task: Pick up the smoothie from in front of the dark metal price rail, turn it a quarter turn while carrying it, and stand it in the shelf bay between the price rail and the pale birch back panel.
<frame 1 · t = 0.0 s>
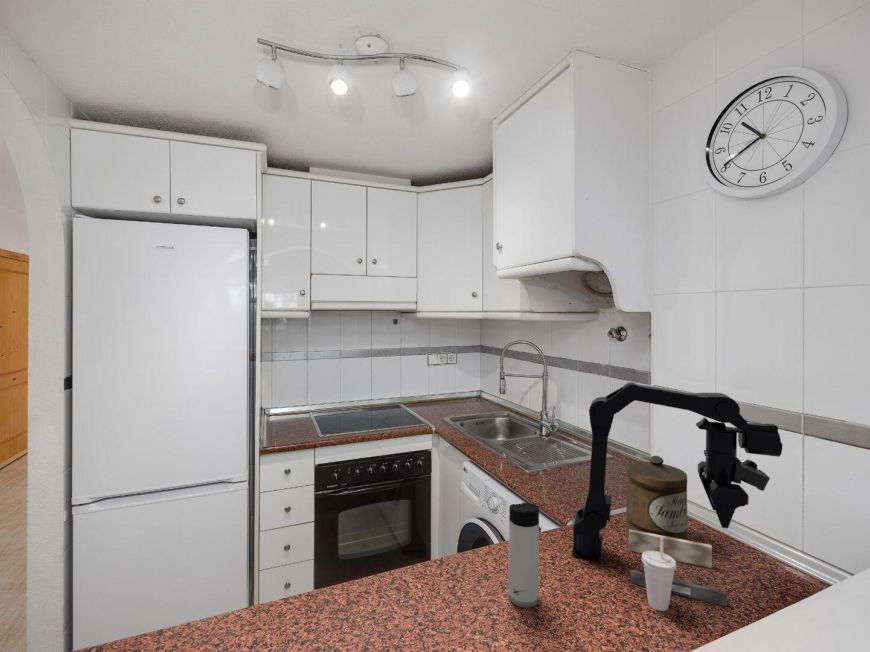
hand: (719, 518, 92), 15 cm above the countertop, tool pointing down, fingers open, 9 cm apart
smoothie: (658, 605, 85), on the countertop
travel mug: (523, 599, 87), on the countertop
wooden container: (655, 535, 113), on the countertop
shelf bay: (672, 574, 95), on the countertop
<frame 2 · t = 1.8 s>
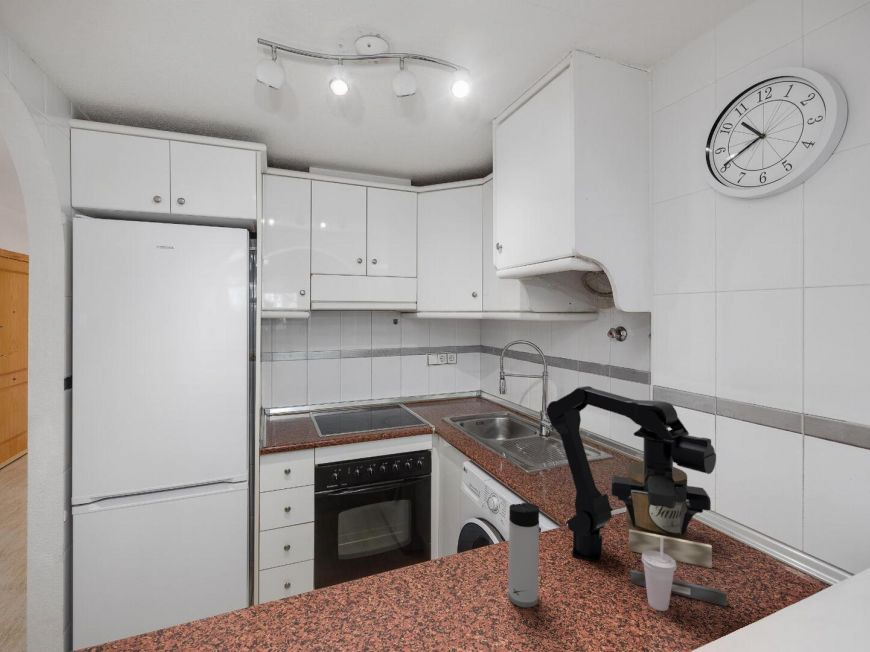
hand: (657, 530, 90), 13 cm above the countertop, tool pointing down, fingers open, 9 cm apart
nothing on the countertop moved.
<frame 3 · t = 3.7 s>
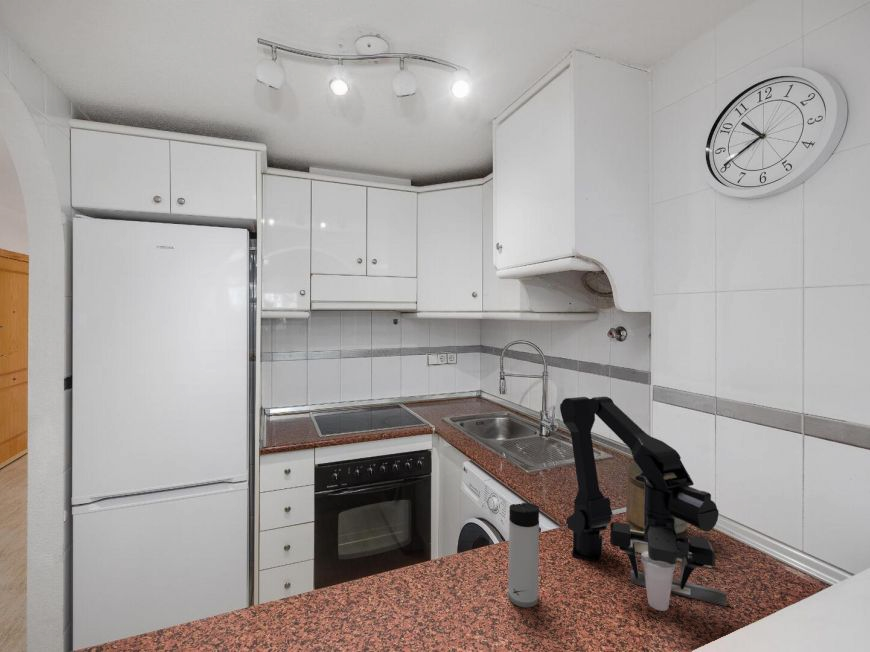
hand: (658, 582, 85), 5 cm above the countertop, tool pointing down, fingers closed on smoothie, 8 cm apart
smoothie: (658, 605, 85), on the countertop, touching gripper
everything else where it was.
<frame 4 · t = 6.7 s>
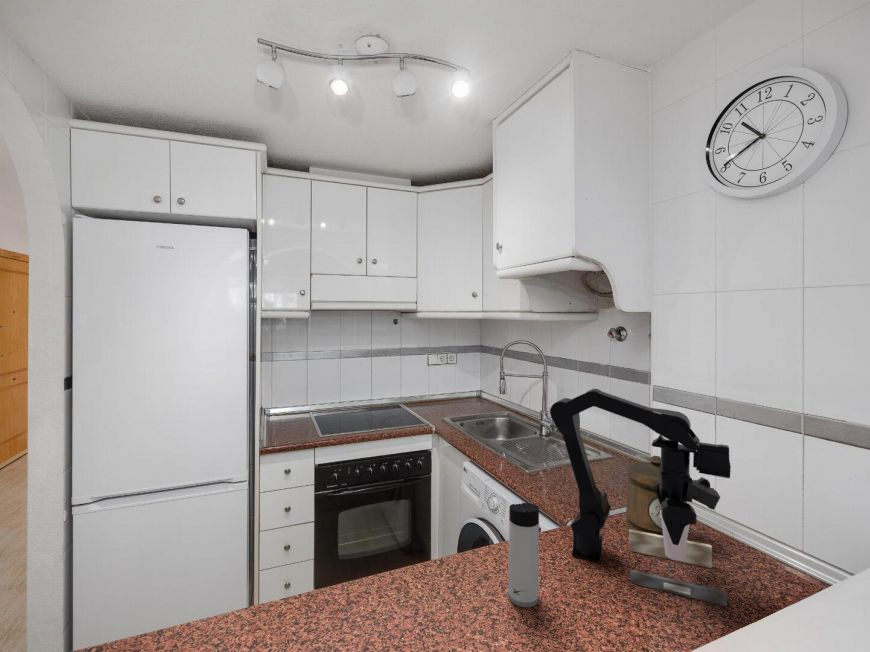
hand: (673, 535, 93), 10 cm above the countertop, tool pointing down, fingers closed on smoothie, 8 cm apart
smoothie: (674, 556, 93), point 5 cm above the countertop, touching gripper
everything else where it was.
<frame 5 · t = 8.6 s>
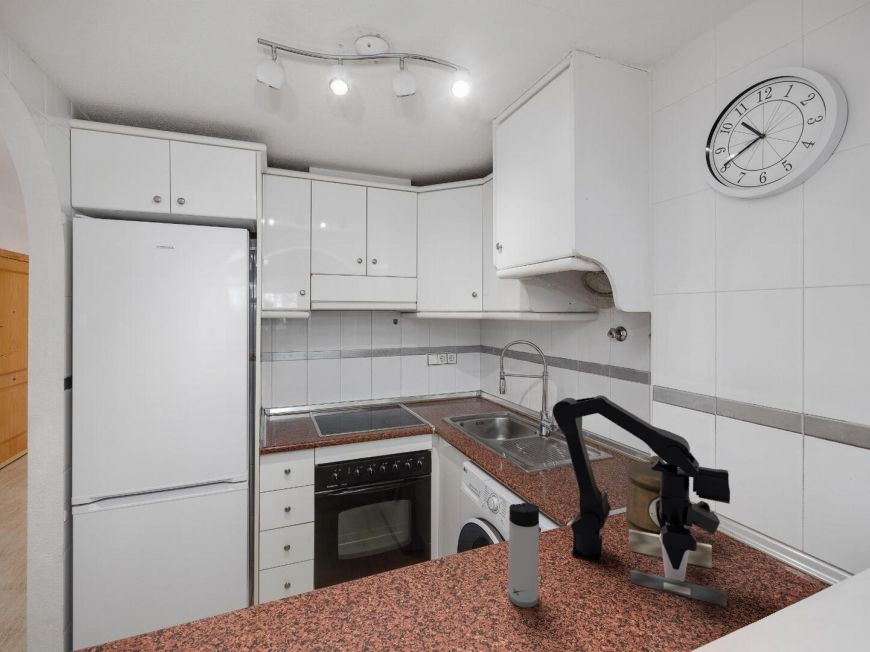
hand: (673, 559, 93), 5 cm above the countertop, tool pointing down, fingers closed on smoothie, 7 cm apart
smoothie: (674, 580, 93), on the countertop, touching gripper
everything else where it was.
when the fingers open (5 cm above the countertop, at t = 9.9 s): smoothie stays where it is, on the countertop.
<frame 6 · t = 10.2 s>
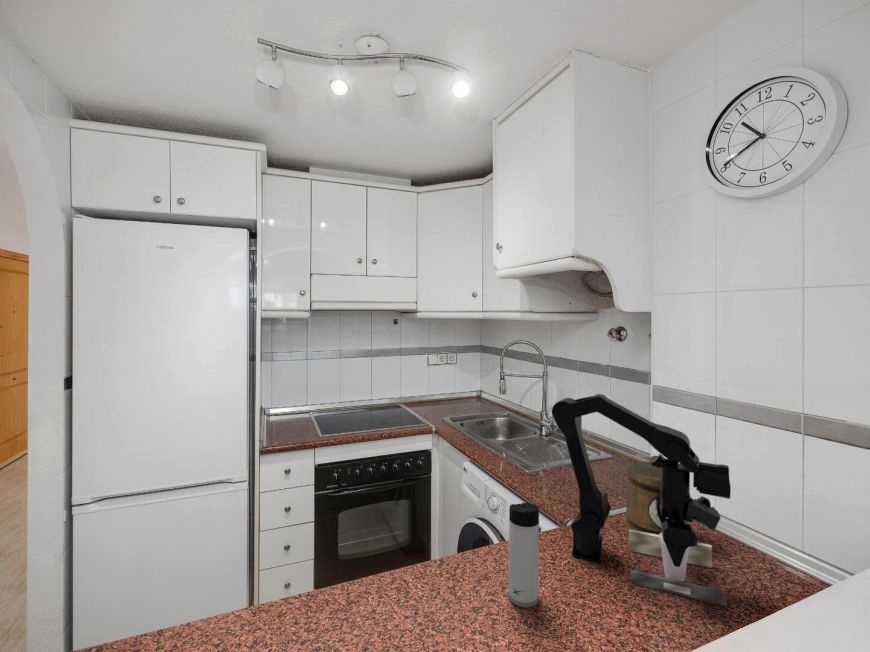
hand: (674, 555, 93), 6 cm above the countertop, tool pointing down, fingers open, 9 cm apart
smoothie: (674, 581, 93), on the countertop
everything else where it was.
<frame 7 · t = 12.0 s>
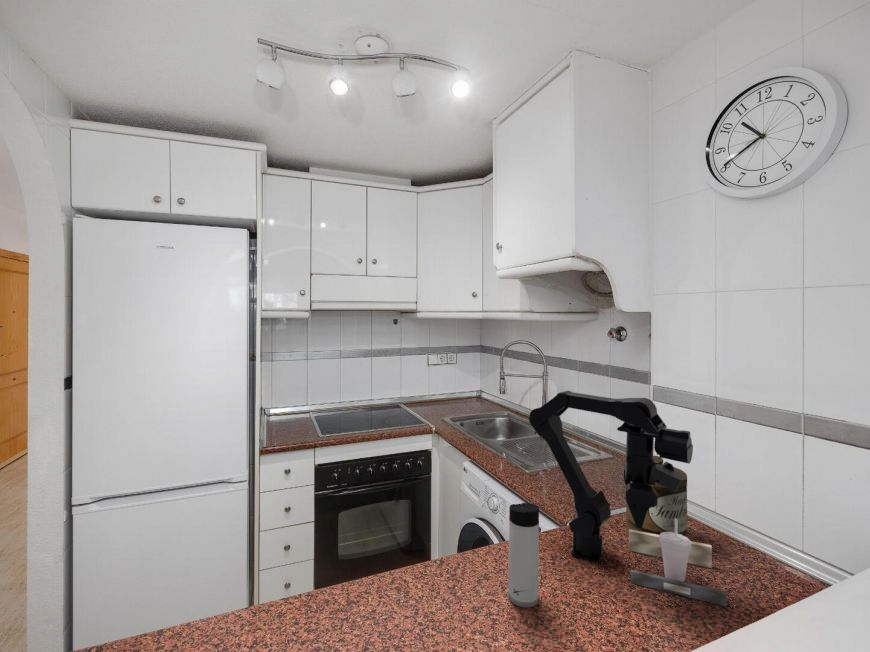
hand: (637, 518, 96), 13 cm above the countertop, tool pointing down, fingers open, 9 cm apart
nothing on the countertop moved.
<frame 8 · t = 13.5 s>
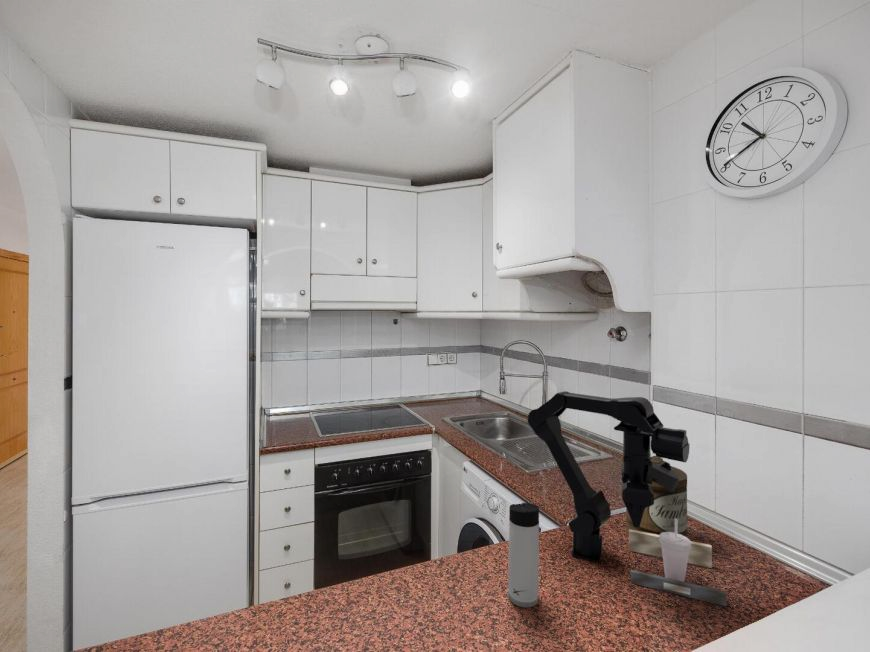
hand: (635, 518, 96), 13 cm above the countertop, tool pointing down, fingers open, 9 cm apart
nothing on the countertop moved.
at the end: smoothie inside the target area on the shelf bay (2.1 cm from its centre), point 0.0 cm above the shelf bay's base; smoothie tilted 0°; the gripper is holding nothing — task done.
